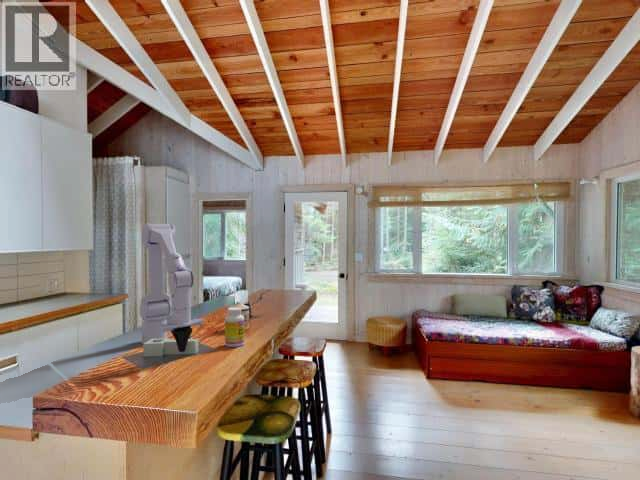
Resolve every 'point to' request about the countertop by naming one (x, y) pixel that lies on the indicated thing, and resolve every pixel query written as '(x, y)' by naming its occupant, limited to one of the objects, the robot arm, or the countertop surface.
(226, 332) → the supplement bottle
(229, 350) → the countertop surface
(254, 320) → the countertop surface
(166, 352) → the link
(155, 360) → the base plate
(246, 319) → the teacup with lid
